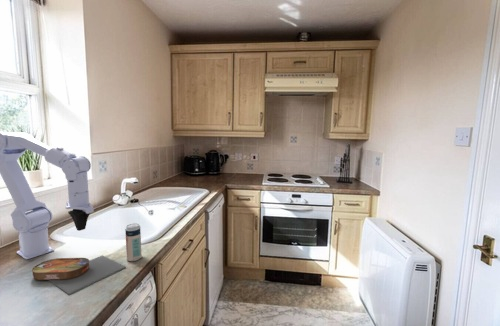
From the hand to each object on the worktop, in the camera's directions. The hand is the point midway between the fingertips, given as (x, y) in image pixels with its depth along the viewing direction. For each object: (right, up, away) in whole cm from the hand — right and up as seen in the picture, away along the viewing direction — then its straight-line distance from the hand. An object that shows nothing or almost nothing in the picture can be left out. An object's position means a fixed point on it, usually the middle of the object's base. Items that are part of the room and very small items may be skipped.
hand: (81, 229), depth 86 cm
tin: (+2, -9, -7) cm, 11 cm away
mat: (+9, -11, -10) cm, 18 cm away
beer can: (+19, -10, -1) cm, 22 cm away
